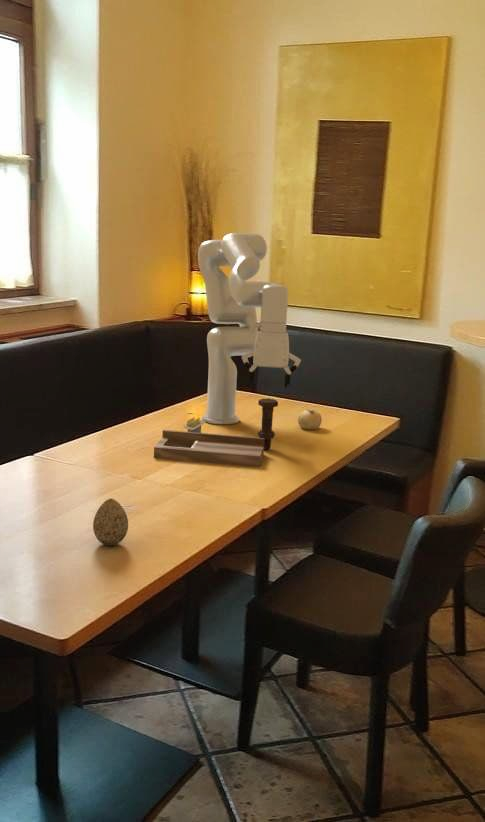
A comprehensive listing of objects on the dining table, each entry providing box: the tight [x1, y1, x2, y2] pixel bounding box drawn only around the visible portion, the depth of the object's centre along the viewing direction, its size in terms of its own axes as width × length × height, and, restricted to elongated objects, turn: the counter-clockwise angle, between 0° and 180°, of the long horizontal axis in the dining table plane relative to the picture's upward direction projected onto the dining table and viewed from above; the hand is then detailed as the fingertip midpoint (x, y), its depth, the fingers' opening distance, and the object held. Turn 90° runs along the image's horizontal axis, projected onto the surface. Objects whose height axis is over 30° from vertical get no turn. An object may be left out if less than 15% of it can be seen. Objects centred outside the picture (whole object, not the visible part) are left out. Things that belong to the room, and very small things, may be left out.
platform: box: [183, 416, 206, 433], centre depth 250 cm, size 12×18×7 cm, turn 160°
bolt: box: [257, 398, 279, 451], centre depth 241 cm, size 6×5×15 cm
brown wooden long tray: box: [153, 429, 265, 468], centre depth 232 cm, size 12×30×5 cm, turn 83°
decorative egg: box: [92, 498, 129, 547], centre depth 167 cm, size 7×7×10 cm
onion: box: [297, 408, 323, 430], centre depth 269 cm, size 8×8×7 cm
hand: (269, 385), depth 238 cm, fingers open, 9 cm apart
